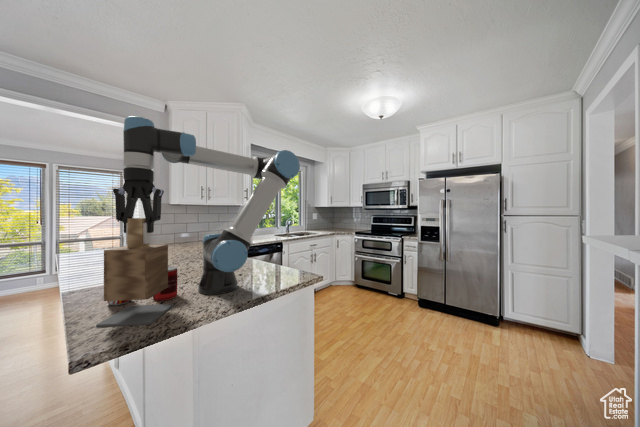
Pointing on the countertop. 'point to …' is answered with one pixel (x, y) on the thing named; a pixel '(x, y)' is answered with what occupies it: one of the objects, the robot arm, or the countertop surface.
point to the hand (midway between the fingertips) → (138, 243)
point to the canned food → (169, 286)
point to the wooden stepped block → (135, 267)
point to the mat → (136, 315)
